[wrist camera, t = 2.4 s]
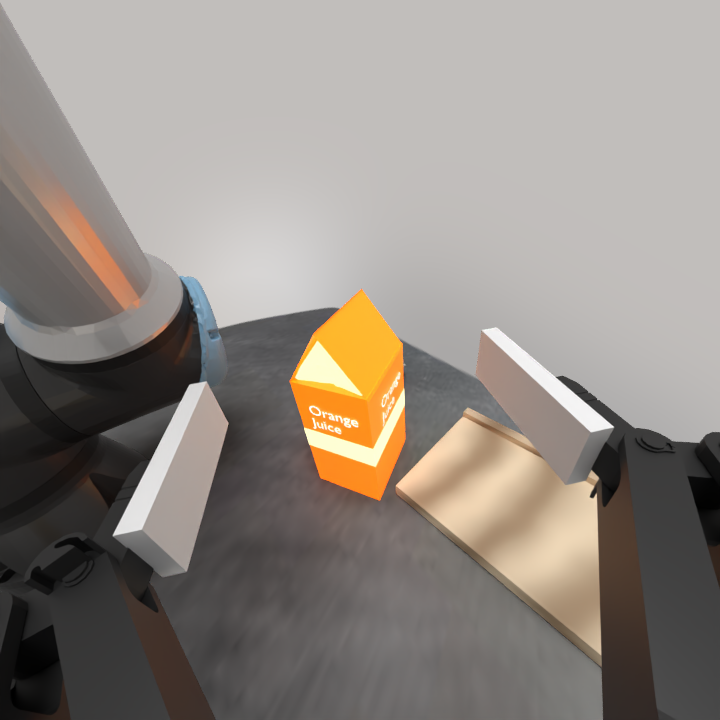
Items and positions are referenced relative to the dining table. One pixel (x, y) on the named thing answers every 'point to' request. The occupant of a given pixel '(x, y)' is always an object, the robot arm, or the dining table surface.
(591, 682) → the dining table surface
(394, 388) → the orange juice
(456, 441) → the serving board
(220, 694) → the dining table surface
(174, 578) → the dining table surface
